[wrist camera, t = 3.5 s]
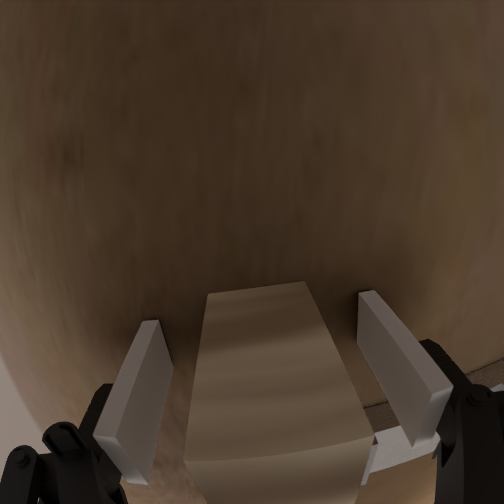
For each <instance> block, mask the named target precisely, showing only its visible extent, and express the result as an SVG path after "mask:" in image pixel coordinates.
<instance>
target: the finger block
mask: <svg viewBox="0 0 504 504" xmlns="http://www.w3.org/2000/svg"><path fill="white" fill-rule="evenodd" d="M374 436H375V435H374V432H373V430H372V428H371V425H370V423H369V421H368V418H367V416H366V414H365V411H364V409H363V407H362V404H361V402H360V400H359V398H358V395H357V393H356V391H355V388H354V386H353V384H352V382H351V379H350V377H349V375H348V373H347V371H346V368H345V366H344V364H343V362H342V359H341V357H340V355H339V353H338V351H337V348H336V346H335V344H334V342H333V340H332V338H331V335H330V333H329V331H328V329H327V327H326V325H325V322H324V320H323V318H322V316H321V314H320V312H319V310H318V308H317V305H316V303H315V301H314V299H313V297H312V295H311V293H310V291H309V289H308V287H307V284H306V282H305V281H300V282H293V283H286V284H279V285H272V286H264V287H257V288H249V289H242V290H234V291H226V292H218V293H210V294H208V296H207V302H206V308H205V314H204V320H203V326H202V332H201V338H200V345H199V351H198V357H197V364H196V370H195V377H194V384H193V391H192V397H191V404H190V412H189V419H188V426H187V434H186V442H185V449H184V457H183V462H184V464H185V466H186V467H187V469H188V471H189V473H190V475H191V476H192V478H193V480H194V482H195V483H196V485H197V487H198V488H199V490H200V492H201V493H202V495H203V497H204V498H205V500H206V501H207V503H208V504H354V503H355V500H356V497H357V494H358V491H359V488H360V485H361V482H362V479H363V476H364V472H365V469H366V465H367V462H368V458H369V455H370V451H371V447H372V444H373V440H374Z"/></svg>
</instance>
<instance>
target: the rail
mask: <svg viewBox="0 0 504 504" xmlns="http://www.w3.org/2000/svg"><path fill="white" fill-rule="evenodd" d="M465 376H466V377H467V378H468V379H469V380H470V382H471V383H472V384H482V385H484V386H486V387H488V388H489V389H490V390H491V391H493V392H496V391H503V390H504V358H503V359H501V360H499V361H497V362H495V363H493V364H491V365H488V366H486V367H484V368H482V369H479V370H477V371H475V372H472V373H470V374H468V375H465ZM364 411H365V414H366V416H367V418H368V421H369V423H370V425H371V428H372V430H373V432H374V435H375V436H374V440H373V444H372V447H371V451H370V455H369V458H368V462H367V465H366V469H365V472H364V476H363V479H362V482H361V485H365V484H366V482H367V479H368V476H369V473H372V472H375V471H379V470H382V469H385V468H388V467H391V466H394V465H397V464H400V463H403V462H406V461H409V460H412V459H414V458H417V457H420V456H422V455H425V454H428V453H430V452H433V451H435V449H436V447H437V445H438V443H439V441H440V437H439V435H438V433H437V432H435V435H434V437H433V439H432V441H431V442H428V443H426V444H423V445H421V446H418V447H415V448H412V446H411V444H410V442H409V441H408V439H407V437H406V435H405V433H404V431H403V429H402V427H401V425H400V423H399V421H398V419H397V417H396V415H395V413H394V411H393V409H392V408H391V406H390V404H389V402H387V403H383V404H379V405H376V406H372V407H368V408H364ZM361 485H360V486H361Z"/></svg>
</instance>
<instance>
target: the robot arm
mask: <svg viewBox="0 0 504 504" xmlns="http://www.w3.org/2000/svg"><path fill="white" fill-rule="evenodd" d="M357 345H358V347H359V349H360V350H361V352H362V354H363V356H364V358H365V359H366V361H367V363H368V365H369V367H370V368H371V370H372V372H373V374H374V376H375V378H376V379H377V381H378V383H379V385H380V387H381V389H382V391H383V392H384V394H385V396H386V398H387V400H388V402H389V404H390V406H391V408H392V409H393V411H394V413H395V415H396V417H397V419H398V421H399V423H400V425H401V427H402V429H403V431H404V433H405V435H406V437H407V439H408V441H409V442H410V444H411V446H412V448H415V447H418V446H421V445H423V444H426V443H428V442H431V441H432V439H433V437H434V435H435V432H437V433H438V435H439V437H440V441H439V443H438V445H437V447H436V449H435V451H434V453H433V456H432V459H435V457H436V455H437V478H436V492H435V502H434V504H504V390H503V391H496V392H493V391H491V390H490V389H489V388H488V387H486V386H484V385H482V384H472V383H471V382H470V380H469V379H468V378H467V377H466V376H465V374H464V373H463V372H462V371H461V370H460V368H459V367H458V366H457V365H456V364H455V363H454V361H452V359H451V358H450V357H449V356H448V354H447V355H446V352H445V351H444V350H443V349H442V348H441V346H440V345H439V344H437V343H435V342H433V341H432V340H430V339H426V340H422V341H419V342H418V341H417V339H416V338H415V337H414V336H413V335H412V333H411V332H410V331H409V330H408V329H407V327H406V326H405V325H404V324H403V323H402V321H401V320H400V319H399V318H398V317H397V316H396V314H395V313H394V312H393V311H392V310H391V308H390V307H389V306H388V305H387V304H386V303H385V302H384V300H383V299H382V298H381V297H380V296H379V295H378V294H377V292H376V291H375V290H371V291H366V292H360V293H359V298H358V326H357ZM173 370H174V367H173V364H172V361H171V358H170V355H169V352H168V349H167V346H166V342H165V339H164V336H163V333H162V329H161V326H160V323H159V320H150V321H142V324H141V326H140V328H139V330H138V332H137V334H136V336H135V338H134V340H133V343H132V345H131V347H130V349H129V351H128V353H127V356H126V358H125V360H124V362H123V364H122V367H121V369H120V371H119V373H118V376H117V378H116V380H115V383H114V384H103V385H102V386H101V387H100V388H99V389H98V390H97V391H96V392H95V394H94V396H93V398H92V400H91V404H90V405H89V407H88V409H87V410H88V411H86V413H85V416H84V418H83V420H82V422H81V424H80V427H79V429H78V428H77V427H76V426H75V425H74V424H72V423H70V422H58V423H56V424H53V425H52V426H50V427H49V428H48V429H47V430H46V431H45V433H44V434H43V438H42V441H43V443H44V444H45V445H46V446H47V448H48V449H49V450H50V451H51V453H48V454H38V453H37V452H36V451H35V450H34V449H33V448H32V447H30V446H27V445H22V446H19V447H16V448H15V449H13V450H12V452H10V454H9V456H8V458H7V461H6V465H5V468H4V471H3V475H2V478H1V482H0V504H37V503H38V504H128V502H127V498H126V495H125V492H124V489H123V488H122V486H121V485H120V479H121V475H122V476H123V477H124V478H125V479H126V481H127V482H128V483H136V484H147V485H149V481H150V475H151V470H152V465H153V460H154V455H155V450H156V445H157V441H158V436H159V431H160V427H161V422H162V417H163V413H164V408H165V404H166V400H167V395H168V391H169V387H170V382H171V378H172V374H173ZM437 453H438V454H437ZM38 498H39V502H38Z"/></svg>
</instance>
